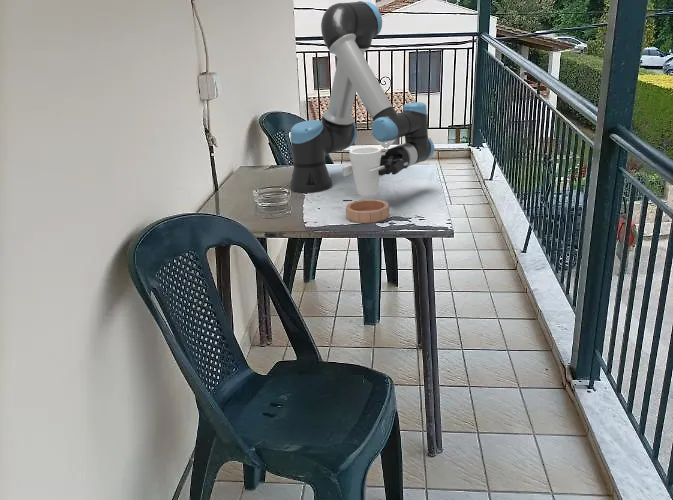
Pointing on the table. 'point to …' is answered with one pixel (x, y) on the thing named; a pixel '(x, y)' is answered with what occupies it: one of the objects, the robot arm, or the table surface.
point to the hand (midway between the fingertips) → (357, 173)
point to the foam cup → (365, 169)
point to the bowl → (367, 211)
